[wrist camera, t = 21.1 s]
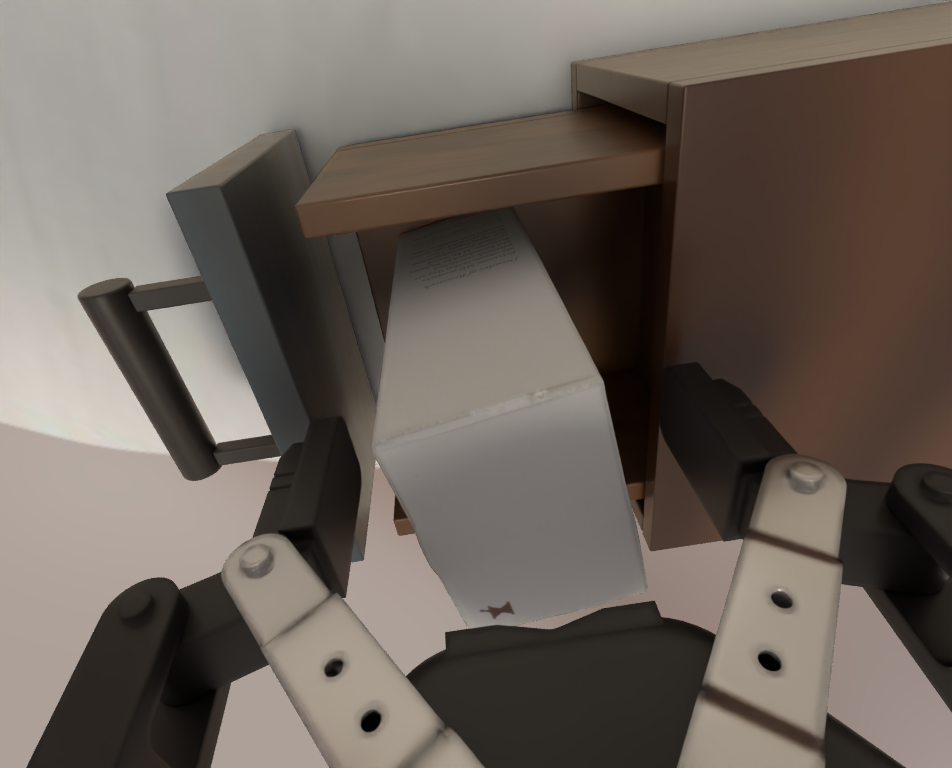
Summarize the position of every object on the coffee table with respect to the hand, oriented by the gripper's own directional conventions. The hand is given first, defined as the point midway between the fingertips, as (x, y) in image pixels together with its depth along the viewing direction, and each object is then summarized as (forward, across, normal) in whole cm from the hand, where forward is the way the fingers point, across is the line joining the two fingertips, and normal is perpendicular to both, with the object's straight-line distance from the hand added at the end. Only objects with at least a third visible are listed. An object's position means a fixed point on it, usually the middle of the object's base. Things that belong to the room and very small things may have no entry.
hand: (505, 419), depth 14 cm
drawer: (+9, +2, 0) cm, 10 cm away
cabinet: (+10, -12, 0) cm, 15 cm away
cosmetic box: (+8, 0, 0) cm, 8 cm away
